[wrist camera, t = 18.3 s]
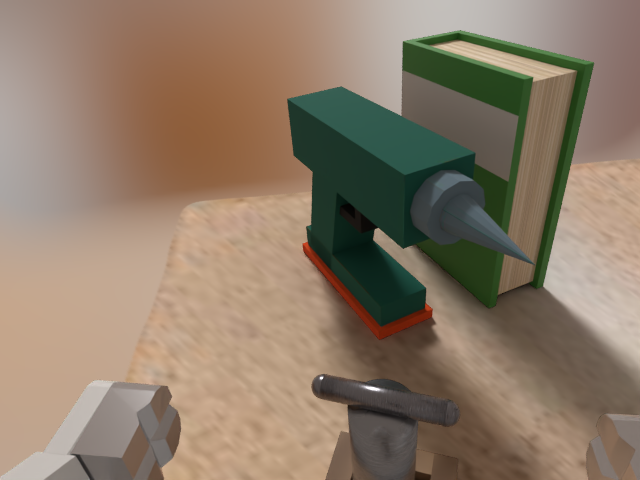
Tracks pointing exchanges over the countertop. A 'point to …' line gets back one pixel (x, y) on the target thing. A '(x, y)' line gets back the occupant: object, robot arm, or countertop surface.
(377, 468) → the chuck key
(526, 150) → the hardback book
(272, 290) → the countertop surface
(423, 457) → the brown square frame
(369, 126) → the power tool
